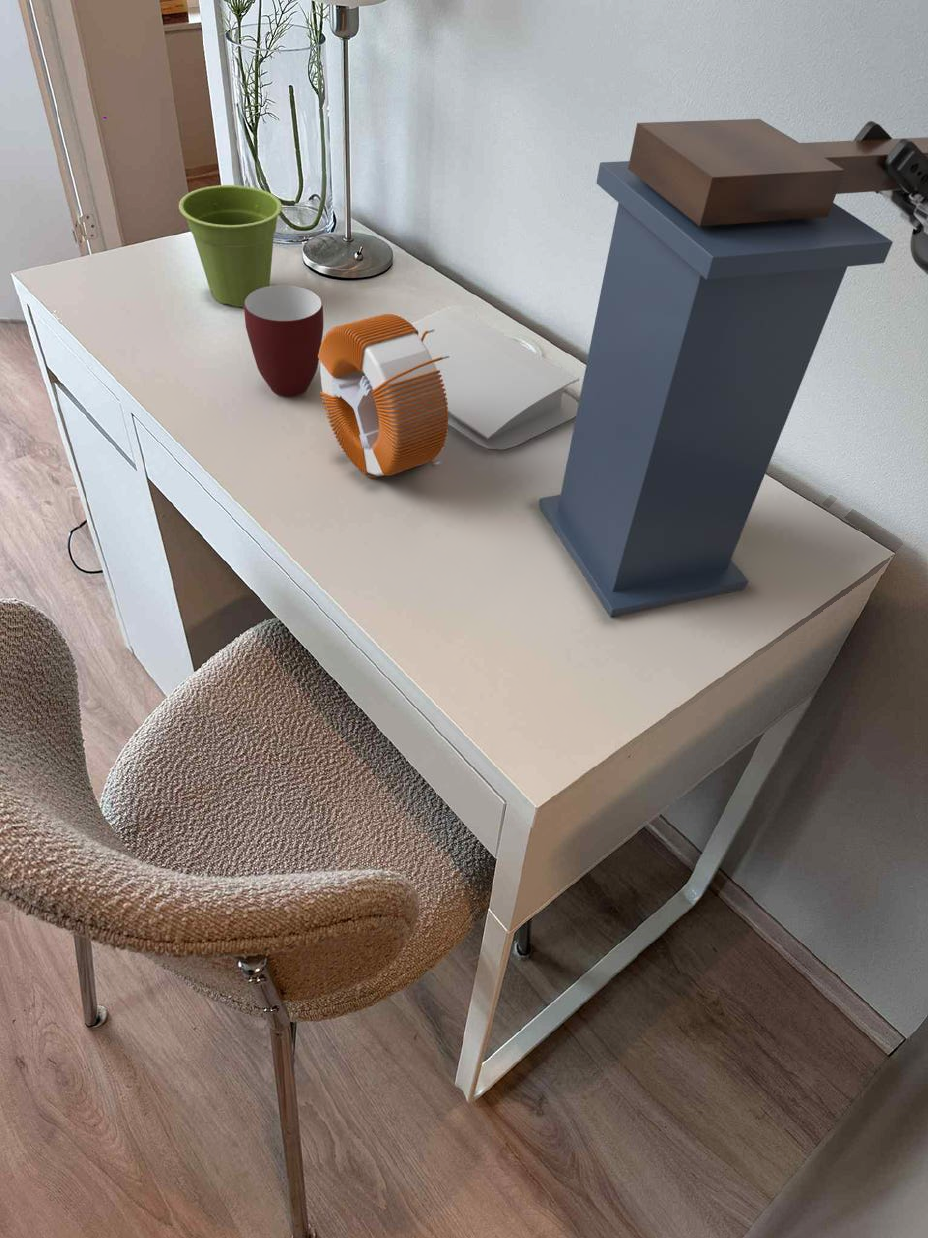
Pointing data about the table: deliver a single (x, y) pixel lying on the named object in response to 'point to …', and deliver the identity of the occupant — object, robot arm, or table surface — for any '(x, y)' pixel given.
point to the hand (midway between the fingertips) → (878, 144)
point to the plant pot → (233, 237)
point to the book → (494, 381)
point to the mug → (285, 336)
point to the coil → (383, 394)
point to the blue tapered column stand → (690, 388)
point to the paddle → (754, 170)
